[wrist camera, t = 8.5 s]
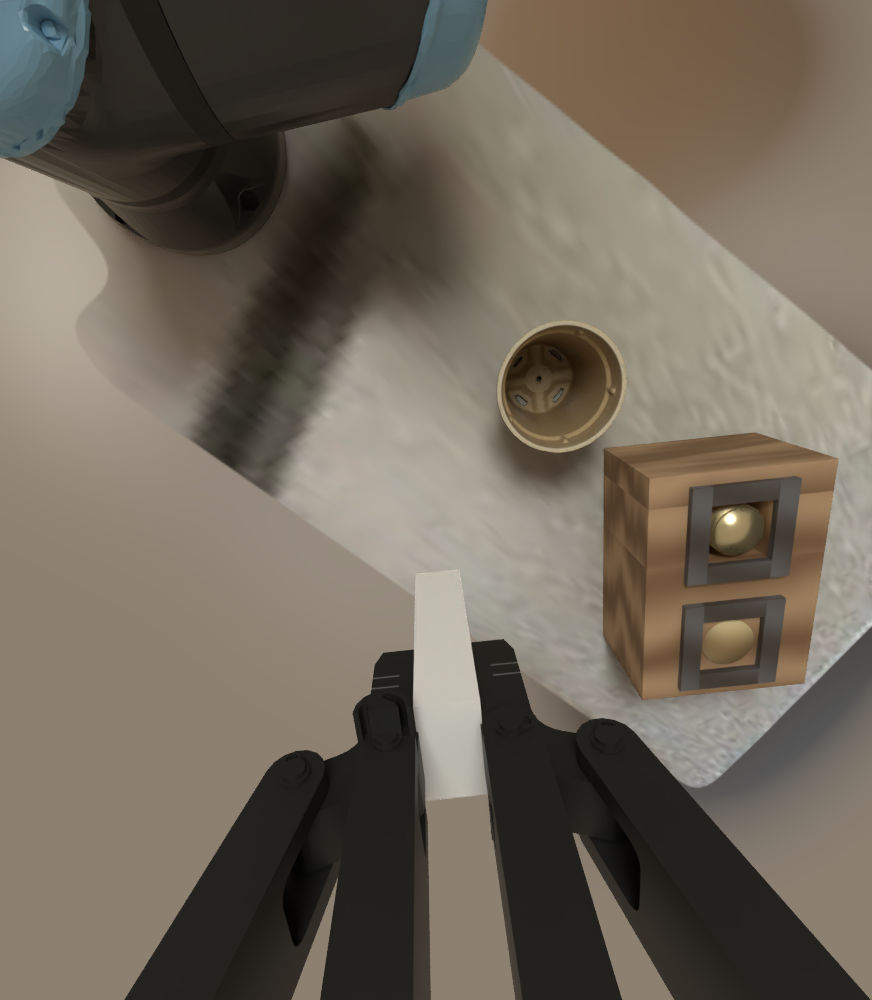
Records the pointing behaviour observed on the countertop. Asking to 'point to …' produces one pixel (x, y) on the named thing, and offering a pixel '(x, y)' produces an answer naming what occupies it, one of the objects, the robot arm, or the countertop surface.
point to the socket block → (712, 563)
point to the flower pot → (561, 386)
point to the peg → (735, 528)
